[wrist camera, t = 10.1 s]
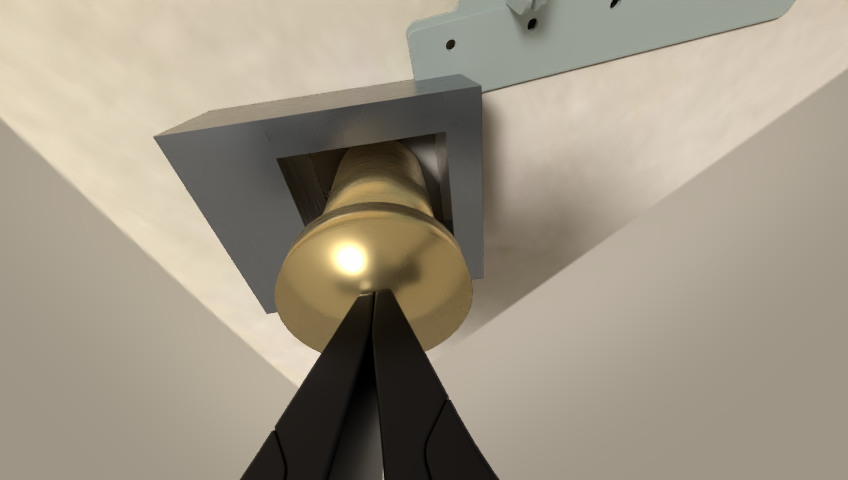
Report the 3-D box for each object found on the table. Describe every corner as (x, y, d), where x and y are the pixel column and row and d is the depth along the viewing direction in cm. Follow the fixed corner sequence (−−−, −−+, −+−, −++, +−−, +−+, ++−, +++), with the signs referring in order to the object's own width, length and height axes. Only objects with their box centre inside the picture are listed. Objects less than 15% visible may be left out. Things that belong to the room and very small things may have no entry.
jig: (458, 72, 12) (481, 85, 9) (466, 235, 17) (483, 277, 14) (208, 111, 12) (153, 136, 9) (287, 264, 16) (266, 313, 14)
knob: (426, 117, 13) (469, 207, 6) (437, 216, 16) (474, 347, 9) (311, 135, 13) (235, 244, 6) (343, 231, 16) (314, 374, 9)
